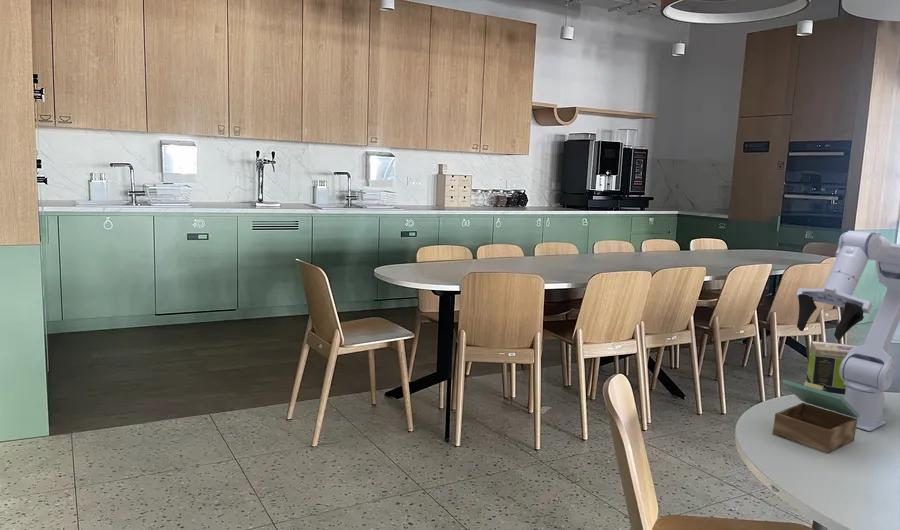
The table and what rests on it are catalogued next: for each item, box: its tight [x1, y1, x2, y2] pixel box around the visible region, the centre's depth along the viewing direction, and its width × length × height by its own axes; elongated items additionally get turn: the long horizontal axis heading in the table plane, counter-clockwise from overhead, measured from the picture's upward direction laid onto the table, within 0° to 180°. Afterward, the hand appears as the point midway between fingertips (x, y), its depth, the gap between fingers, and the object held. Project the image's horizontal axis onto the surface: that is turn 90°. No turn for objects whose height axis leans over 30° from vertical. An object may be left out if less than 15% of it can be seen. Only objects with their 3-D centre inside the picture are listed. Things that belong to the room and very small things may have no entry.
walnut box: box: [772, 402, 857, 455], centre depth 153 cm, size 13×12×5 cm
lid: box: [781, 378, 859, 418], centre depth 152 cm, size 14×12×2 cm
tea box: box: [805, 340, 859, 398], centre depth 177 cm, size 15×10×15 cm, turn 69°
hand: (817, 333), depth 143 cm, fingers open, 7 cm apart
